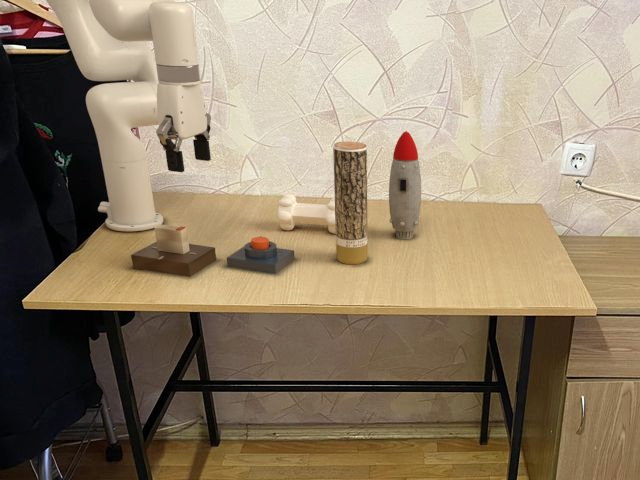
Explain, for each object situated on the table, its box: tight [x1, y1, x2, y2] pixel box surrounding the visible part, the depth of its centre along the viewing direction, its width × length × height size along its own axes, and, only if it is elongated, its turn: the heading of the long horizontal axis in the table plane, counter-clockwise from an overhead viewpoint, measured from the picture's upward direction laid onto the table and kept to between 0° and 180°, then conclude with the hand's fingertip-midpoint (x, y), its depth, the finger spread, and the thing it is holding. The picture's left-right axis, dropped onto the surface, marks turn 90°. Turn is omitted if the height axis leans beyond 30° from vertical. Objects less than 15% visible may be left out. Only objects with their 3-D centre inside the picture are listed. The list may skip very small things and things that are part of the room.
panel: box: [130, 241, 217, 278], centre depth 149 cm, size 13×10×3 cm
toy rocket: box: [388, 130, 422, 240], centre depth 168 cm, size 8×8×25 cm
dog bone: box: [276, 193, 336, 235], centre depth 172 cm, size 15×9×8 cm, turn 87°
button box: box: [226, 240, 296, 275], centre depth 152 cm, size 11×9×4 cm
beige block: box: [153, 223, 190, 254], centre depth 147 cm, size 6×2×5 cm, turn 77°
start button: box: [250, 236, 270, 249], centre depth 151 cm, size 4×4×2 cm
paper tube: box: [332, 141, 368, 266], centre depth 152 cm, size 7×7×25 cm
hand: (190, 165), depth 143 cm, fingers open, 9 cm apart
